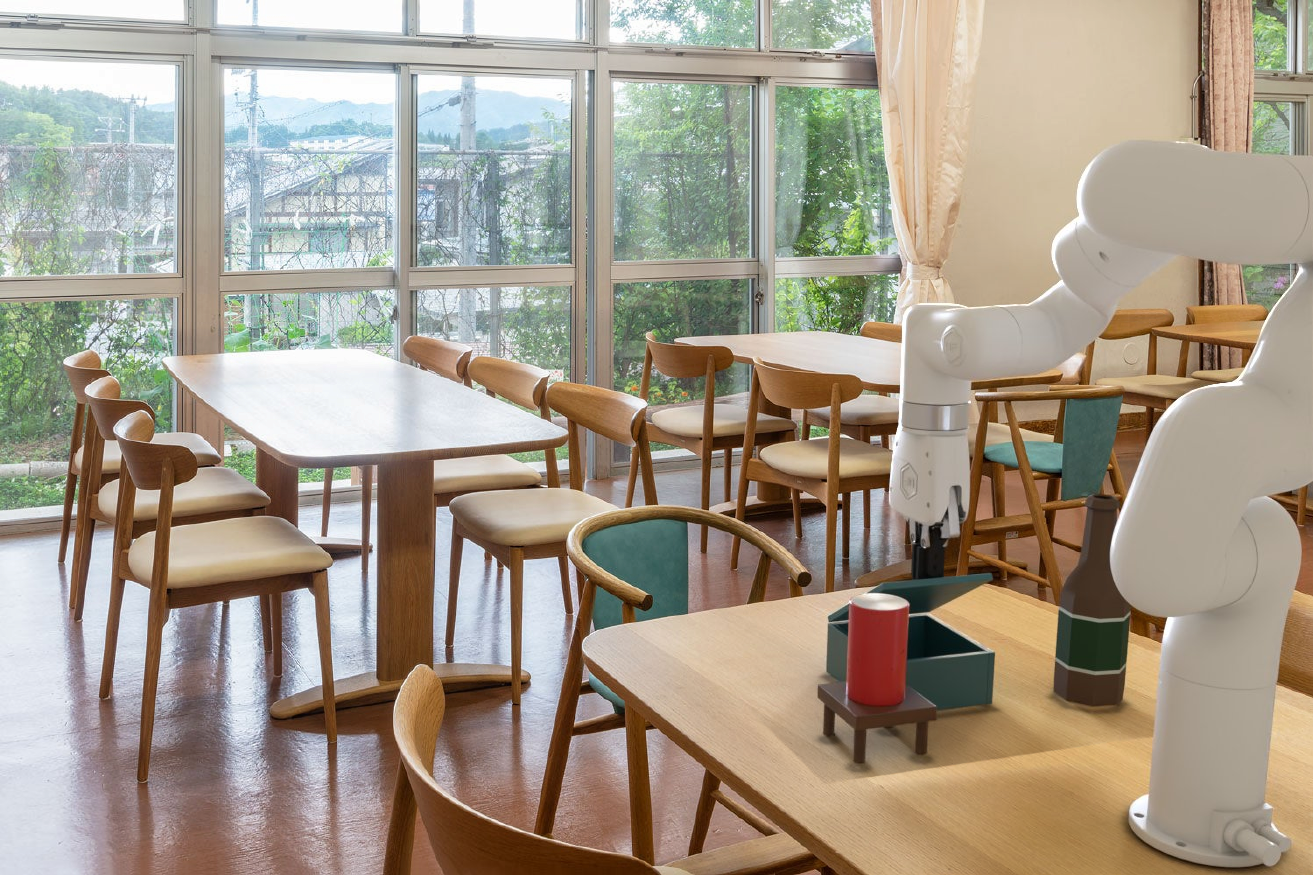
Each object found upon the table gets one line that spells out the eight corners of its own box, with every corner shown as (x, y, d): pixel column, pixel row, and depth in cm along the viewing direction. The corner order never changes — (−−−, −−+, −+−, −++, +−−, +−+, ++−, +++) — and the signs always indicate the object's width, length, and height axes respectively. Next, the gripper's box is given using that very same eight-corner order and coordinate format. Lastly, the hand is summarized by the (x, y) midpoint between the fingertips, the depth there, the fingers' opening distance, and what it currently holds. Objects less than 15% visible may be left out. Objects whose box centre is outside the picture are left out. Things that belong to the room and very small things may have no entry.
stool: (934, 762, 129) (937, 706, 128) (854, 773, 126) (856, 716, 125) (891, 727, 138) (893, 675, 136) (815, 737, 135) (817, 684, 134)
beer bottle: (1128, 716, 141) (1145, 506, 137) (1056, 709, 143) (1070, 502, 139) (1118, 690, 149) (1133, 490, 145) (1049, 684, 150) (1062, 487, 146)
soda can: (915, 702, 129) (920, 607, 127) (862, 708, 127) (866, 612, 125) (887, 681, 135) (891, 590, 133) (836, 687, 133) (839, 595, 131)
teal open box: (991, 709, 143) (995, 652, 142) (883, 723, 139) (886, 664, 137) (926, 665, 156) (928, 612, 155) (825, 677, 152) (827, 622, 151)
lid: (993, 579, 141) (991, 572, 142) (884, 589, 137) (882, 582, 137) (929, 612, 155) (928, 605, 155) (828, 622, 151) (827, 615, 151)
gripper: (871, 408, 144) (865, 564, 148) (939, 429, 130) (931, 601, 134) (929, 406, 147) (923, 559, 150) (1002, 426, 133) (993, 595, 136)
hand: (927, 578), depth 142 cm, fingers closed
